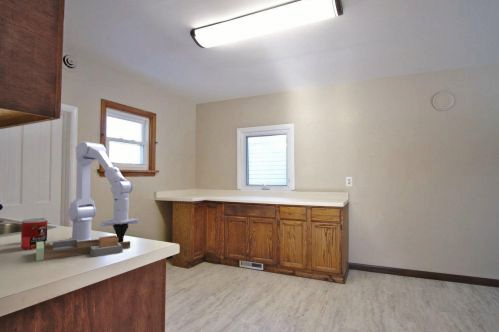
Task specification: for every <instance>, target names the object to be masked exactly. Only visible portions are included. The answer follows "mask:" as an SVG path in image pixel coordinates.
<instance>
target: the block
mask: <svg viewBox="0 0 499 332" xmlns="http://www.w3.org/2000/svg"><path fill="white" fill-rule="evenodd" d="M98 239H99V246H98V248H104V247H111V246H116V243H118V239H119V238H118V237H117V235H116V234H115V235H114V234H113V235H106V236H105V235H104V236H99V237H98Z"/></svg>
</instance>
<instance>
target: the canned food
mask: <svg viewBox="0 0 499 332" xmlns="http://www.w3.org/2000/svg"><path fill="white" fill-rule="evenodd" d="M44 218H45V217H39V218H34V217H33V218H26V219H23V220H22V221H21V233H20V235H21V237H20V247H21V248H20V249H22V250H25V251H26V250H29V251H30V250H36V247H37V242H42V241H43V242H44V245H46V241H45V235H46V220H47V219H46V218H45V219H44Z"/></svg>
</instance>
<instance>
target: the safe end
mask: <svg viewBox="0 0 499 332" xmlns="http://www.w3.org/2000/svg"><path fill="white" fill-rule="evenodd" d="M35 261H36V262H38V261H45V260H44V242H43V241H42V242H37V247H36V249H35Z"/></svg>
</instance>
